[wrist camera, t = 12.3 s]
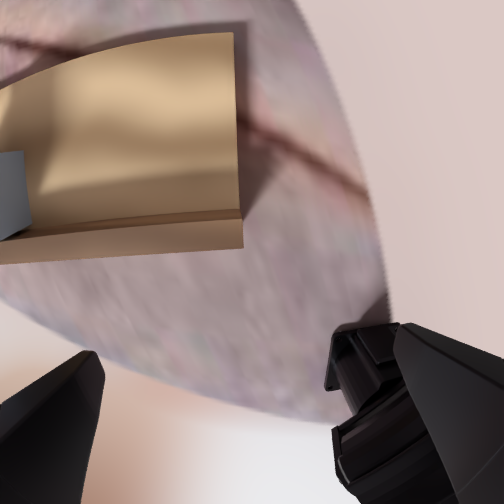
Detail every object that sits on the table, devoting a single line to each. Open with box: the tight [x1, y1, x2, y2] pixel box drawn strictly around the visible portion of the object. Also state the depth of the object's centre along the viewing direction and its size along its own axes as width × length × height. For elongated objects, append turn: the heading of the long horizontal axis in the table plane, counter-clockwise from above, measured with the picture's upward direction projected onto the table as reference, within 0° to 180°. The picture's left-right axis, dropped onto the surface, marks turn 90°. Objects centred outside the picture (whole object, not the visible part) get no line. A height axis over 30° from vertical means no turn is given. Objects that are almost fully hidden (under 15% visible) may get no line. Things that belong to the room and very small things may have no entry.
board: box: [0, 32, 244, 265], centre depth 14 cm, size 12×20×4 cm, turn 92°
